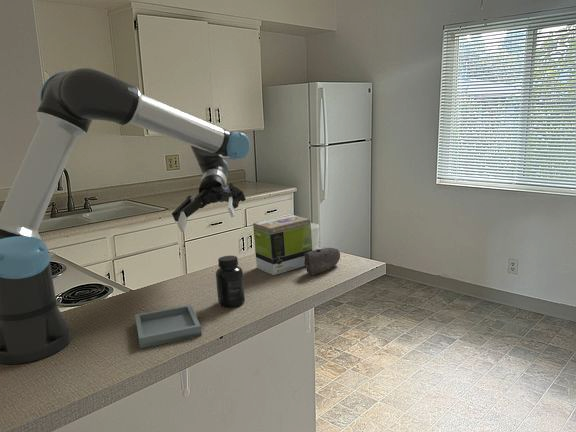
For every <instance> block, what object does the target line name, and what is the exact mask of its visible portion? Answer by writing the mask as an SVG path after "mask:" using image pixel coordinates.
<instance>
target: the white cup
mask: <svg viewBox="0 0 576 432" xmlns="http://www.w3.org/2000/svg"><path fill="white" fill-rule="evenodd" d="M310 223H311V238H312V251H314V250H317V249H319V244H320V224H318V223H314V222H310Z"/></svg>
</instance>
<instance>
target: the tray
mask: <svg viewBox="0 0 576 432" xmlns="http://www.w3.org/2000/svg"><path fill="white" fill-rule="evenodd" d="M134 316H135V324H136V331H137V338H138V343H139V348H140V349H145V348H149V347H155V346H158V345H163V344H169V343H175V342H177V341H182V340H187V339H192V338H196V337H197V338H198V337H201V336H203V335H202V325H201V324H200V321H199V320H198V317H197V315H196V313H195V310H194V308H193V306H192V304H185V305H180V306H176V307H169V308H163V309H159V310H153V311H147V312H142V313H137V314H134Z"/></svg>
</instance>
